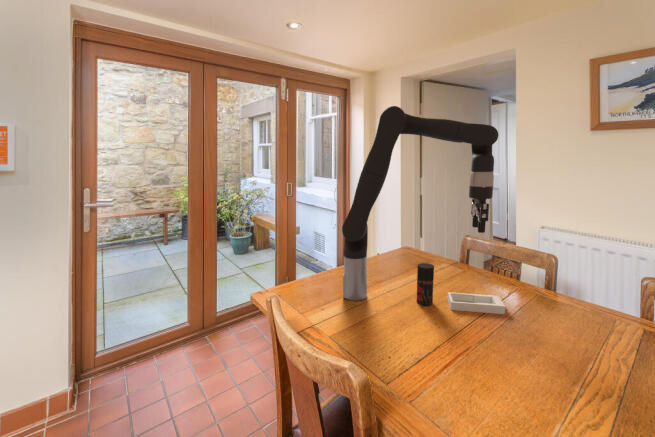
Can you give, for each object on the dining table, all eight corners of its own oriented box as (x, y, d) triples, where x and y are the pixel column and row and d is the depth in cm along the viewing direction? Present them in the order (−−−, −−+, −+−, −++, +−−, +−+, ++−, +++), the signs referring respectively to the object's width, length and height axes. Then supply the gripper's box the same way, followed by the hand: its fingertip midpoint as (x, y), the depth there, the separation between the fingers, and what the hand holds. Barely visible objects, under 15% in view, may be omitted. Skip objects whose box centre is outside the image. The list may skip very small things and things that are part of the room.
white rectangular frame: (450, 309, 116) (451, 302, 116) (447, 299, 125) (447, 292, 124) (504, 314, 112) (505, 306, 112) (497, 303, 121) (498, 295, 120)
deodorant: (434, 306, 120) (436, 268, 117) (418, 306, 120) (419, 268, 117) (429, 299, 125) (431, 263, 123) (414, 299, 126) (415, 263, 123)
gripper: (465, 183, 119) (463, 225, 122) (474, 186, 105) (471, 234, 108) (487, 183, 117) (484, 226, 120) (499, 186, 104) (495, 234, 107)
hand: (478, 229), depth 114 cm, fingers open, 8 cm apart
